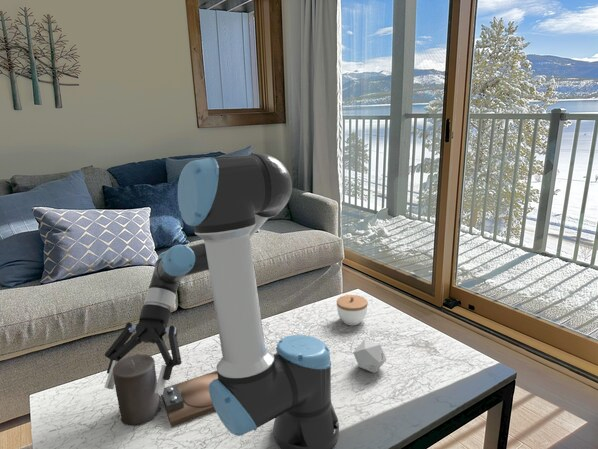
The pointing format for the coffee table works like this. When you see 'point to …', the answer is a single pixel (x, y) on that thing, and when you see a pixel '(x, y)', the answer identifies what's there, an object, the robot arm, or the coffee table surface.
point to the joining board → (193, 399)
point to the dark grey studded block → (172, 399)
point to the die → (369, 356)
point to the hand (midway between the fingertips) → (133, 391)
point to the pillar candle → (136, 389)
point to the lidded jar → (352, 309)
